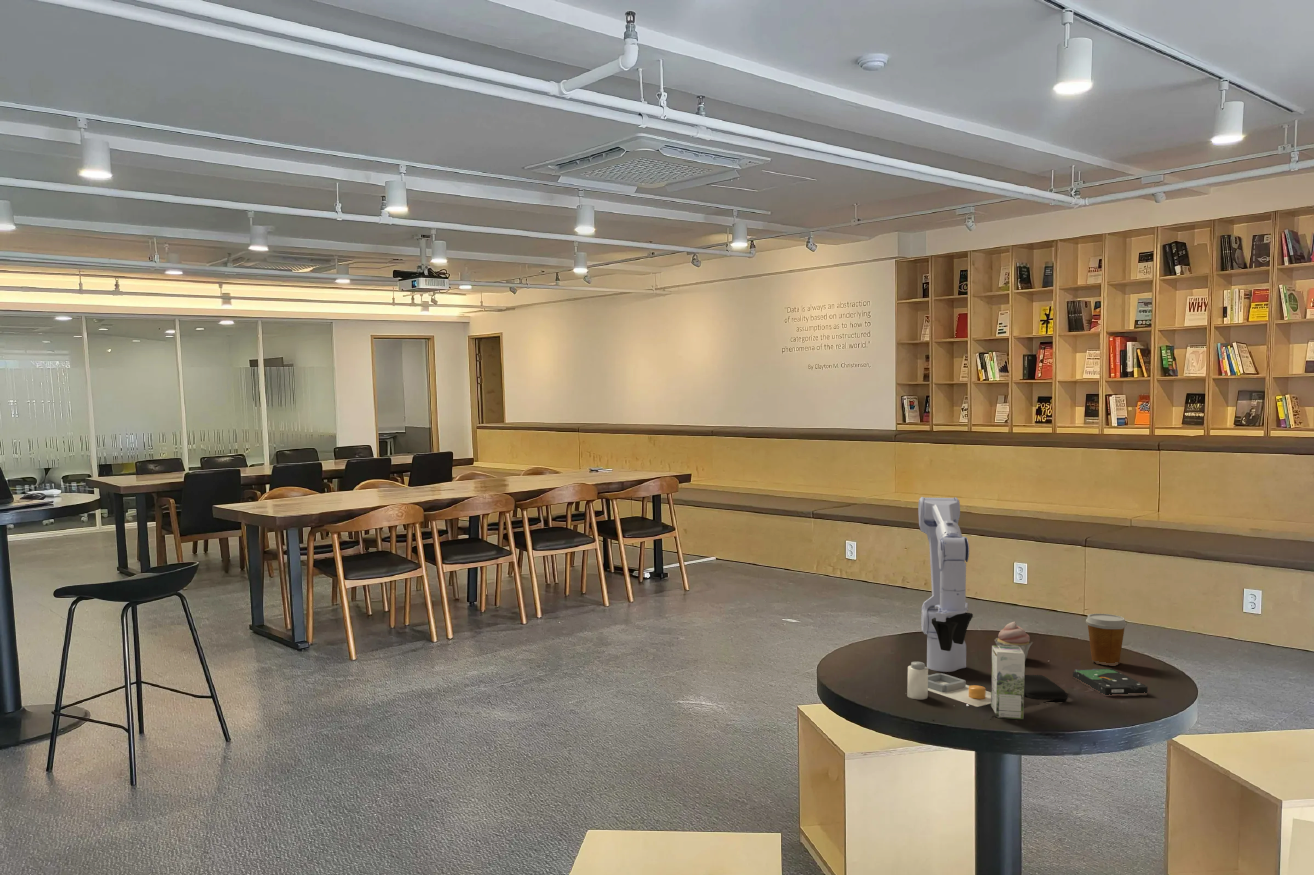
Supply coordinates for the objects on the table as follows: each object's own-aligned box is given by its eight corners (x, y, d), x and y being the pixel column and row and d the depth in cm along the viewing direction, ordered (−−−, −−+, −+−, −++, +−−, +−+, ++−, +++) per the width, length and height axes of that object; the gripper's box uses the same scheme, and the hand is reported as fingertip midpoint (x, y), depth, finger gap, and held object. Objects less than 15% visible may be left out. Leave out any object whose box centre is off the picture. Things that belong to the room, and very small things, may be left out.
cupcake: (1034, 665, 236) (1034, 626, 236) (995, 662, 239) (996, 624, 238) (1030, 656, 245) (1030, 618, 245) (993, 653, 248) (993, 616, 247)
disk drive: (1148, 698, 211) (1111, 678, 226) (1149, 686, 211) (1112, 667, 226) (1105, 699, 210) (1071, 679, 225) (1105, 687, 210) (1071, 668, 225)
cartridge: (919, 694, 210) (920, 660, 210) (931, 700, 206) (932, 665, 206) (903, 696, 208) (903, 661, 208) (915, 702, 204) (915, 666, 204)
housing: (939, 680, 223) (939, 670, 223) (1009, 702, 206) (1010, 691, 206) (907, 687, 217) (907, 677, 217) (977, 711, 200) (977, 699, 200)
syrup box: (1018, 711, 200) (1019, 645, 199) (1024, 720, 194) (1025, 652, 194) (990, 709, 201) (991, 643, 200) (995, 718, 195) (996, 651, 195)
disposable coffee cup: (1089, 656, 245) (1089, 611, 244) (1128, 662, 239) (1129, 616, 239) (1081, 664, 237) (1082, 618, 236) (1122, 670, 231) (1123, 623, 231)
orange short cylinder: (975, 693, 209) (975, 684, 209) (989, 697, 206) (989, 688, 206) (965, 695, 207) (965, 686, 207) (978, 700, 204) (978, 691, 204)
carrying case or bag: (999, 685, 220) (1023, 705, 205) (999, 672, 220) (1023, 691, 205) (1044, 685, 220) (1071, 705, 205) (1044, 672, 220) (1071, 691, 205)
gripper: (948, 582, 222) (947, 637, 222) (923, 591, 211) (922, 650, 211) (977, 585, 217) (976, 642, 218) (953, 595, 206) (952, 655, 207)
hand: (952, 646), depth 214 cm, fingers open, 7 cm apart
